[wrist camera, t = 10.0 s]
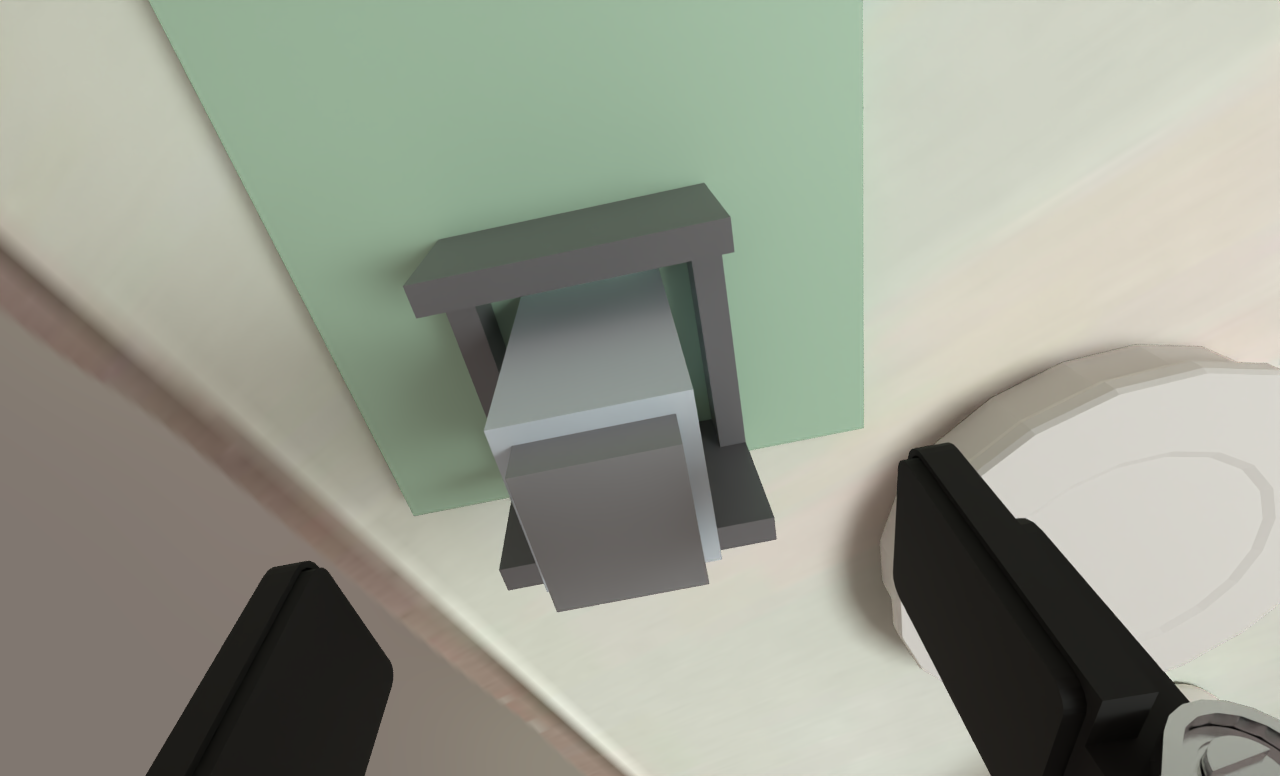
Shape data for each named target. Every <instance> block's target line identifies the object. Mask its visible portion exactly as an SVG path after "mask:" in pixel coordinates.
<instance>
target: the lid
mask: <svg viewBox="0 0 1280 776" xmlns="http://www.w3.org/2000/svg"><path fill="white" fill-rule="evenodd" d="M947 442H950V443H952V444H954V445H955V446H956V447H957V448H958V449H959V451H960V452H961V453H962V454H963V455H964V457H965V458H966V459H967V460H968V461H969V463H970V464H971V465H972V466H973V468H974V469H975V470H976V471H977V472H978V474H979V475H980V476H981V477H982V478H983V480H984V481H985V482H986V483H987V484H988V486H989V487H990V488H991V489H992V490H993V492H994V493H995V494H996V495H997V497H998V498H999V499H1000V500H1001V501H1002V503H1003V504H1004V505H1005V506H1006V507H1007V509H1008V510H1009V511H1010V512H1011V513H1012V515H1013V516H1014V517H1015V518H1026V519H1028V520H1030V521H1032V522H1034V523H1035V524H1036V525H1037V526H1038V527H1039V528H1040V529H1041V530H1043V532H1044V533H1045V534H1046V535H1047V536H1048V537H1049V539H1050V540H1051V541H1052V542H1053V543H1054V544H1055V546H1056V547H1057V548H1058V549H1059V550H1060V551H1061V553H1062V554H1063V555H1064V556H1065V557H1066V558H1067V559H1068V561H1069V562H1070V563H1071V564H1072V565H1073V566H1074V568H1075V569H1076V570H1077V571H1078V572H1079V573H1080V575H1081V576H1082V577H1083V578H1084V579H1085V580H1086V582H1087V583H1088V584H1089V585H1090V586H1091V587H1092V589H1093V590H1094V591H1095V592H1096V593H1097V594H1098V596H1099V597H1100V598H1101V599H1102V600H1103V601H1104V603H1105V604H1106V605H1107V606H1108V607H1109V608H1110V609H1111V611H1112V612H1113V613H1114V614H1115V615H1116V616H1117V618H1118V619H1119V620H1120V621H1121V622H1122V623H1123V625H1124V626H1125V627H1126V628H1127V629H1128V630H1129V632H1130V633H1131V634H1132V635H1133V636H1134V637H1135V639H1136V640H1137V641H1138V642H1139V643H1140V644H1141V646H1142V647H1143V648H1144V649H1145V650H1146V651H1147V653H1148V654H1149V655H1150V656H1151V657H1152V658H1153V659H1154V661H1155V662H1156V663H1157V664H1158V665H1159V666H1160V668H1161V669H1162V670H1163V671H1164V672H1166V671H1169V670H1172V669H1174V668H1177V667H1180V666H1182V665H1185V664H1186V663H1188V662H1190V661H1192V660H1194V659H1195V658H1197V657H1199V656H1201V655H1203V654H1205V653H1206V652H1208V651H1210V650H1212V649H1214V648H1215V647H1217V646H1219V645H1221V644H1223V643H1224V642H1226V641H1228V640H1230V639H1232V638H1233V637H1235V636H1237V635H1239V634H1241V633H1243V632H1244V631H1245V630H1247V629H1248V628H1249V627H1251V626H1252V625H1253V624H1254V623H1256V622H1257V621H1258V620H1260V619H1261V618H1262V617H1263V616H1265V615H1266V614H1267V613H1269V612H1270V611H1271V610H1272V609H1274V608H1275V607H1276V606H1278V605H1279V604H1280V369H1279V368H1276V367H1274V366H1272V365H1270V364H1267V363H1243V362H1236V361H1234V360H1232V359H1230V358H1227V357H1225V356H1223V355H1220V354H1218V353H1216V352H1214V351H1211V350H1209V349H1207V348H1204V347H1202V346H1172V345H1141V344H1135V345H1131V346H1127V347H1123V348H1119V349H1115V350H1110V351H1106V352H1102V353H1098V354H1094V355H1090V356H1086V357H1082V358H1078V359H1074V360H1070V361H1065V362H1062V363H1060V364H1058V365H1056V366H1054V367H1052V368H1050V369H1048V370H1046V371H1044V372H1042V373H1040V374H1038V375H1036V376H1034V377H1032V378H1030V379H1028V380H1026V381H1024V382H1022V383H1020V384H1018V385H1016V386H1014V387H1012V388H1010V389H1008V390H1006V391H1004V392H1002V393H1000V394H998V395H996V396H994V397H992V398H990V399H989V400H988V401H987V402H985V403H984V404H983V405H982V406H980V407H979V408H978V409H977V410H976V411H974V412H973V413H972V414H971V415H969V416H968V417H967V418H966V419H964V420H963V421H962V422H961V423H959V424H958V425H957V426H956V427H955V428H953V429H952V430H951V431H950V432H948V433H947V434H946V435H945V436H943V437H942V438H941V439H940V440H938V441H937V442H936V443H935V444H934V445H936V444H942V443H947ZM896 501H897V494H896V497H895V500H894V503H893V505H892V508H891V511H890V514H889V517H888V519H887V522H886V525H885V528H884V531H883V533H882V536H881V539H880V553H881V568H882V582H883V584H884V586H885V588H886V590H887V592H888V593H889V595H890V597H891V599H892V611H893V625H894V627H895V629H896V631H897V633H898V635H899V636H900V638H901V640H902V641H903V643H904V644H905V646H906V647H907V649H908V650H909V652H910V654H911V655H912V657H913V658H914V660H915V661H916V663H917V665H918V666H919V668H921V669H922V670H923V671H925V672H927V673H928V674H930V675H932V676H933V677H935V678H937V679H938V680H940V681H942V680H941V678H940V676H939V674H938V672H937V670H936V668H935V666H934V664H933V662H932V660H931V658H930V656H929V654H928V652H927V651H926V649H925V647H924V645H923V643H922V641H921V639H920V637H919V635H918V633H917V631H916V629H915V627H914V625H913V623H912V621H911V620H910V618H909V616H908V614H907V612H906V610H905V608H904V606H903V604H902V602H901V600H900V598H899V596H898V594H897V591H896V588H895V585H894V580H893V559H894V540H895V520H896Z"/></svg>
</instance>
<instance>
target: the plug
mask: <svg viewBox="0 0 1280 776" xmlns="http://www.w3.org/2000/svg"><path fill="white" fill-rule="evenodd" d="M484 433H485V436H486V438H487V441H488V443H489V446H490V448H491V451H492V453H493V456H494V458H495V461H496V463H497V466H498V469H499V471H500V474H501V476H502V479H503V481H504V484H505V486H506V489H507V491H508V494H509V496H510V499H511V502H512V504H513V507H514V509H515V512H516V514H517V517H518V519H519V522H520V524H521V527H522V529H523V532H524V534H525V537H526V540H527V542H528V545H529V547H530V550H531V552H532V555H533V557H534V560H535V562H536V565H537V567H538V570H539V573H540V575H541V578H542V580H543V583H544V585H545V588H546V590H547V592H549V593H550V595H551V598H552V600H553V603H554V606H555V608H556V611H557V612H562V611H567V610H572V609H578V608H583V607H589V606H594V605H599V604H605V603H610V602H615V601H621V600H626V599H631V598H637V597H642V596H648V595H653V594H658V593H664V592H669V591H674V590H680V589H685V588H690V587H696V586H701V585H706V584H709V580H708V574H707V569H706V564H705V562H710V561H716V560H721V559H722V556H721V550H720V544H719V538H718V532H717V526H716V520H715V514H714V509H713V503H712V497H711V491H710V485H709V479H708V473H707V467H706V461H705V455H704V450H703V444H702V438H701V432H700V426H699V420H698V414H697V408H696V402H695V397H694V391H693V387H692V383H691V380H690V376H689V373H688V369H687V366H686V362H685V359H684V355H683V352H682V348H681V345H680V341H679V338H678V334H677V331H676V327H675V324H674V320H673V317H672V313H671V310H670V306H669V303H668V299H667V296H666V292H665V289H664V285H663V282H662V278H661V275H660V271H659V268H656V269H652V270H647V271H642V272H637V273H632V274H628V275H623V276H618V277H613V278H609V279H604V280H599V281H594V282H589V283H585V284H580V285H575V286H570V287H565V288H561V289H556V290H551V291H546V292H542V293H537V294H532V295H527V296H522V297H521V298H520V302H519V306H518V309H517V313H516V316H515V320H514V324H513V327H512V331H511V334H510V338H509V342H508V345H507V349H506V353H505V356H504V360H503V363H502V367H501V371H500V374H499V378H498V381H497V385H496V389H495V392H494V396H493V399H492V403H491V407H490V410H489V414H488V417H487V421H486V425H485V428H484Z"/></svg>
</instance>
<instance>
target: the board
mask: <svg viewBox="0 0 1280 776" xmlns="http://www.w3.org/2000/svg"><path fill="white" fill-rule="evenodd" d="M149 2H150V4H151V6H152V8H153V10H154V12H155V14H156V16H157V18H158V20H159V22H160V24H161V25H162V27H163V29H164V31H165V33H166V35H167V37H168V39H169V41H170V43H171V45H172V47H173V49H174V51H175V53H176V55H177V57H178V58H179V60H180V62H181V64H182V66H183V68H184V70H185V72H186V74H187V76H188V78H189V80H190V82H191V84H192V86H193V88H194V90H195V92H196V93H197V95H198V97H199V99H200V101H201V103H202V105H203V107H204V109H205V111H206V113H207V115H208V117H209V119H210V121H211V123H212V125H213V127H214V128H215V130H216V132H217V134H218V136H219V138H220V140H221V142H222V144H223V146H224V148H225V150H226V152H227V154H228V156H229V158H230V160H231V161H232V163H233V165H234V167H235V169H236V171H237V173H238V175H239V177H240V179H241V181H242V183H243V185H244V187H245V189H246V191H247V193H248V195H249V196H250V198H251V200H252V202H253V204H254V206H255V208H256V210H257V212H258V214H259V216H260V218H261V220H262V222H263V224H264V226H265V228H266V230H267V231H268V233H269V235H270V237H271V239H272V241H273V243H274V245H275V247H276V249H277V251H278V253H279V255H280V257H281V259H282V261H283V263H284V264H285V266H286V268H287V270H288V272H289V274H290V276H291V278H292V280H293V282H294V284H295V286H296V288H297V290H298V292H299V294H300V296H301V298H302V299H303V301H304V303H305V305H306V307H307V309H308V311H309V313H310V315H311V317H312V319H313V321H314V323H315V325H316V327H317V329H318V331H319V333H320V334H321V336H322V338H323V340H324V342H325V344H326V346H327V348H328V350H329V352H330V354H331V356H332V358H333V360H334V362H335V364H336V366H337V367H338V369H339V371H340V373H341V375H342V377H343V379H344V381H345V383H346V385H347V387H348V389H349V391H350V393H351V395H352V397H353V399H354V401H355V402H356V404H357V406H358V408H359V410H360V412H361V414H362V416H363V418H364V420H365V422H366V424H367V426H368V428H369V430H370V432H371V434H372V436H373V437H374V439H375V441H376V443H377V445H378V447H379V449H380V451H381V453H382V455H383V457H384V459H385V461H386V463H387V465H388V467H389V469H390V470H391V472H392V474H393V476H394V478H395V480H396V482H397V484H398V486H399V488H400V490H401V492H402V494H403V496H404V498H405V500H406V502H407V504H408V505H409V507H410V509H411V511H412V513H413V515H414V516H418V515H423V514H428V513H433V512H438V511H443V510H448V509H453V508H459V507H464V506H469V505H474V504H479V503H484V502H489V501H494V500H499V499H504V498H510V496H509V494H508V491H507V489H506V486H505V484H504V481H503V479H502V476H501V474H500V471H499V469H498V466H497V463H496V461H495V458H494V456H493V453H492V451H491V448H490V446H489V443H488V441H487V438H486V436H485V433H484V428H485V425H486V421H487V418H486V415H485V413H484V410H483V407H482V405H481V402H480V400H479V397H478V395H477V392H476V389H475V387H474V384H473V382H472V379H471V377H470V374H469V371H468V369H467V366H466V364H465V361H464V359H463V356H462V353H461V351H460V348H459V346H458V343H457V341H456V338H455V335H454V333H453V330H452V328H451V325H450V323H449V320H448V317H447V315H446V313H441V314H436V315H431V316H427V317H422V318H417V319H416V317H415V314H414V312H413V310H412V307H411V305H410V302H409V300H408V298H407V295H406V293H405V291H404V288H403V285H404V284H405V283H406V281H407V280H408V279H409V277H410V276H411V275H412V273H413V272H414V271H415V270H416V268H417V267H418V266H419V264H420V263H421V262H422V260H423V259H424V258H425V256H426V255H427V254H428V253H429V251H430V250H431V249H432V247H433V246H434V245H435V243H436V242H437V241H438V240H439V239H443V238H448V237H453V236H457V235H462V234H467V233H471V232H476V231H481V230H485V229H490V228H495V227H499V226H504V225H509V224H513V223H518V222H523V221H527V220H532V219H537V218H542V217H546V216H551V215H556V214H560V213H565V212H570V211H574V210H579V209H584V208H588V207H593V206H598V205H602V204H607V203H612V202H616V201H621V200H626V199H630V198H635V197H640V196H644V195H649V194H654V193H658V192H663V191H668V190H673V189H677V188H682V187H687V186H691V185H696V184H701V183H705V184H706V186H707V187H708V188H709V189H710V191H711V192H712V193H713V195H714V196H715V197H716V199H717V200H718V201H719V203H720V204H721V205H722V206H723V208H724V209H725V210H726V212H727V213H728V214H729V216H730V217H731V224H732V233H733V242H734V251H735V252H733V253H728V254H723V255H722V258H723V266H724V274H725V282H726V290H727V298H728V306H729V314H730V322H731V330H732V337H733V345H734V353H735V361H736V369H737V377H738V385H739V393H740V401H741V409H742V416H743V424H744V432H745V440H746V444H747V447H748V449H749V450H754V449H760V448H765V447H770V446H775V445H780V444H785V443H790V442H795V441H800V440H806V439H811V438H816V437H821V436H826V435H831V434H836V433H841V432H846V431H851V430H857V429H862V428H864V334H863V0H149ZM659 271H660V275H661V278H662V282H663V285H664V289H665V292H666V296H667V299H668V303H669V306H670V310H671V313H672V317H673V320H674V324H675V327H676V331H677V334H678V338H679V341H680V345H681V348H682V352H683V355H684V359H685V362H686V366H687V369H688V373H689V376H690V380H691V383H692V387H693V391H694V397H695V402H696V408H697V414H698V420H699V421H704V420H709V419H711V412H710V406H709V400H708V393H707V387H706V381H705V374H704V368H703V362H702V355H701V349H700V343H699V337H698V330H697V324H696V318H695V311H694V305H693V299H692V292H691V286H690V280H689V273H688V267H687V262H685V263H680V264H676V265H671V266H666V267H661V268H659ZM520 298H521V297H518V298H513V299H508V300H503V301H498V302H494V303H491V305H492V308H493V311H494V314H495V317H496V320H497V323H498V326H499V329H500V331H501V334H502V337H503V340H504V343H505V346H506V349H507V345H508V342H509V338H510V334H511V331H512V327H513V324H514V320H515V316H516V313H517V309H518V306H519V302H520Z"/></svg>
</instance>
